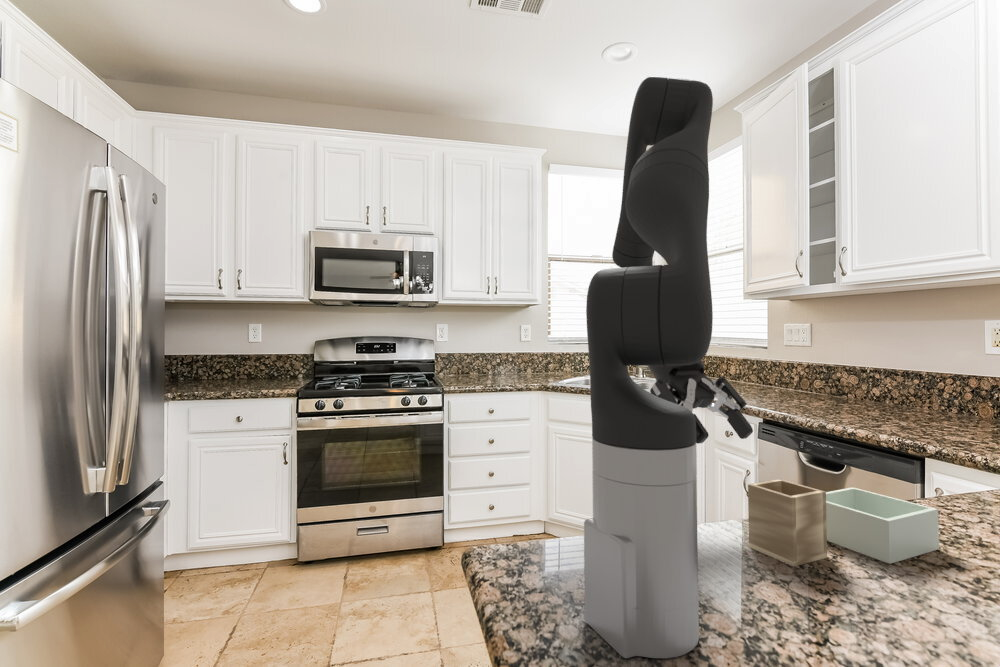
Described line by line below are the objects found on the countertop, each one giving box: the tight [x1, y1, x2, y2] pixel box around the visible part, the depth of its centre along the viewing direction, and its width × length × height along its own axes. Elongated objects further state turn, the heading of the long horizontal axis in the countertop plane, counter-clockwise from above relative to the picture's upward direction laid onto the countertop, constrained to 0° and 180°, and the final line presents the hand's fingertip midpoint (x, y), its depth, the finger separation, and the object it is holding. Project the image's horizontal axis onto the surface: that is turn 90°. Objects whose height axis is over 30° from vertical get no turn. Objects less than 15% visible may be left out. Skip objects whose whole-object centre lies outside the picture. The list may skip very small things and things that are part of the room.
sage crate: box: [825, 486, 940, 565], centre depth 64 cm, size 10×10×5 cm
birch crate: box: [747, 478, 828, 567], centre depth 61 cm, size 6×6×8 cm
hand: (726, 437), depth 69 cm, fingers open, 8 cm apart
